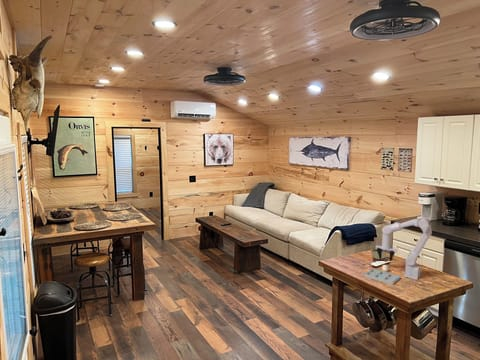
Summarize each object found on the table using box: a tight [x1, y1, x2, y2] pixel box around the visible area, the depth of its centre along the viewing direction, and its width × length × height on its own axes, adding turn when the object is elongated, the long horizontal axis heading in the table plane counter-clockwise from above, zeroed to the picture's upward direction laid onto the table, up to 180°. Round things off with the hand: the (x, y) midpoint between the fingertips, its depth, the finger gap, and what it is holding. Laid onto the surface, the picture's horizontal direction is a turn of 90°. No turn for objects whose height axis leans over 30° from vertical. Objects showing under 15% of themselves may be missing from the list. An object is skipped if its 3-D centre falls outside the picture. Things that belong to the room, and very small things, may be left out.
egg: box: [381, 264, 389, 273], centre depth 262 cm, size 4×4×5 cm
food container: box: [370, 246, 388, 263], centre depth 284 cm, size 12×6×10 cm, turn 84°
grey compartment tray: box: [363, 268, 401, 286], centre depth 251 cm, size 20×14×2 cm
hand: (385, 259), depth 261 cm, fingers open, 7 cm apart
